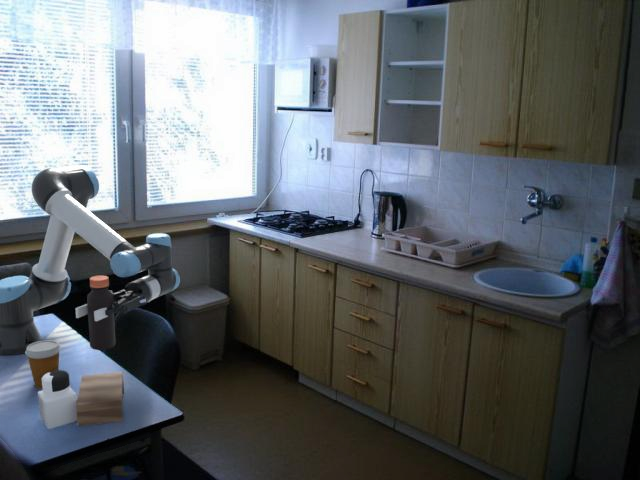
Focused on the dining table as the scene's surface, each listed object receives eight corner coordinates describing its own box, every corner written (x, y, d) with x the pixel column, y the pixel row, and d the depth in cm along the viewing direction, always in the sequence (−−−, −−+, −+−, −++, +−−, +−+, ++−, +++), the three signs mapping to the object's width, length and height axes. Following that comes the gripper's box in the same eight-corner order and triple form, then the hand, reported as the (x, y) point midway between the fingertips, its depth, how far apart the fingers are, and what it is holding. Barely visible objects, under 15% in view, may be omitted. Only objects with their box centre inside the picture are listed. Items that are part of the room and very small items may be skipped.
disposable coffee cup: (50, 392, 178) (47, 353, 176) (21, 389, 180) (17, 350, 178) (70, 378, 188) (67, 341, 185) (42, 375, 189) (38, 338, 187)
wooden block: (83, 395, 177) (82, 375, 175) (124, 390, 180) (122, 371, 178) (78, 426, 160) (76, 405, 159) (122, 420, 163) (121, 399, 162)
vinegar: (119, 347, 174) (115, 279, 170) (95, 352, 170) (90, 283, 166) (110, 339, 180) (106, 272, 175) (86, 344, 175) (82, 276, 171)
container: (69, 409, 169) (65, 365, 166) (79, 420, 163) (75, 374, 160) (39, 418, 164) (35, 372, 161) (48, 430, 158) (43, 383, 155)
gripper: (167, 306, 186) (114, 332, 165) (117, 299, 193) (60, 323, 172) (166, 282, 184) (112, 306, 164) (116, 275, 191) (58, 297, 171)
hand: (86, 314), depth 168 cm, fingers closed on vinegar, 6 cm apart
